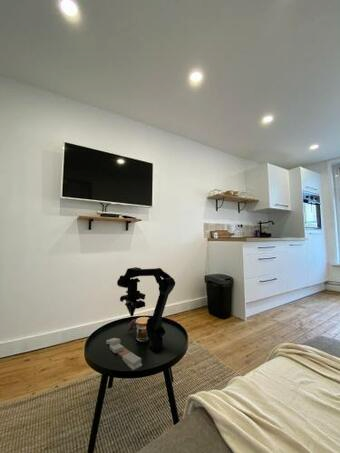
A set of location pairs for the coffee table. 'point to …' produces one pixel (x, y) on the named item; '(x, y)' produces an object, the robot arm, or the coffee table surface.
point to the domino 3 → (123, 352)
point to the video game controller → (132, 324)
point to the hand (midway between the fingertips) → (131, 316)
